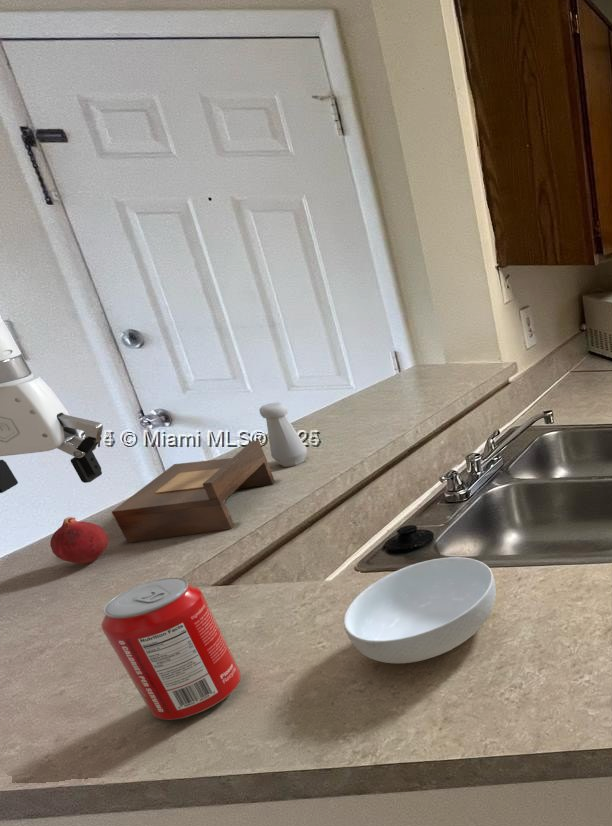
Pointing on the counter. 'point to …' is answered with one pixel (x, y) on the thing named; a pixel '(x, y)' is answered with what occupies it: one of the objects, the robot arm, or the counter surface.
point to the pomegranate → (79, 541)
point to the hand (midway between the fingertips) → (51, 483)
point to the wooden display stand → (191, 496)
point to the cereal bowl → (421, 610)
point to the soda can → (171, 647)
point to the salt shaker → (283, 436)
